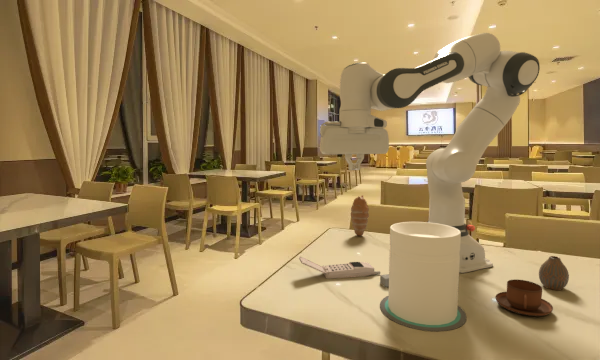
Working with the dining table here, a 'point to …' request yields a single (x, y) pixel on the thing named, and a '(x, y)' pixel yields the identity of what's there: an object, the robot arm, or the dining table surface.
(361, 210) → the brown ribbed oblong piece
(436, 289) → the canister
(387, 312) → the charging mat
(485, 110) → the robot arm
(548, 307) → the cup and saucer
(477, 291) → the dining table surface
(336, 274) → the mobile phone
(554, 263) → the vase
